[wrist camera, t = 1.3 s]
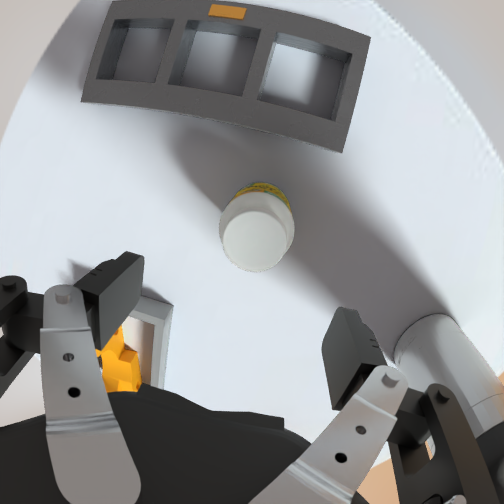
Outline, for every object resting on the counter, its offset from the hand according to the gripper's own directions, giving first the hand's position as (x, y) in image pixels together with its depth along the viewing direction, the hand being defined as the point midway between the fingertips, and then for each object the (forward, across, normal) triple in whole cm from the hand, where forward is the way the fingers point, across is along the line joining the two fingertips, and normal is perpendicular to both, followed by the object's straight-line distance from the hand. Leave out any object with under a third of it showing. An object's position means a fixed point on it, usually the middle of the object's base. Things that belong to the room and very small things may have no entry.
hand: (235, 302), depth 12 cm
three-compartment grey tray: (+17, +7, -13) cm, 22 cm away
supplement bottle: (+17, 0, 0) cm, 17 cm away
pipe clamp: (+17, +12, +22) cm, 31 cm away
